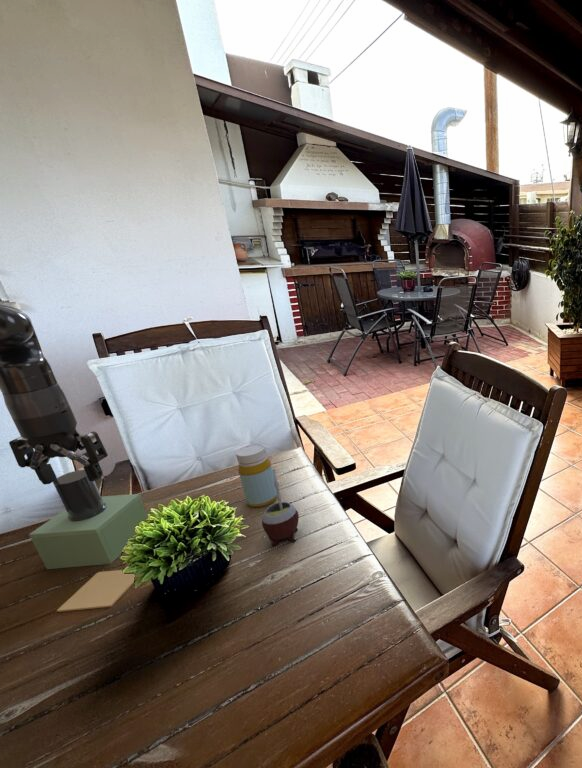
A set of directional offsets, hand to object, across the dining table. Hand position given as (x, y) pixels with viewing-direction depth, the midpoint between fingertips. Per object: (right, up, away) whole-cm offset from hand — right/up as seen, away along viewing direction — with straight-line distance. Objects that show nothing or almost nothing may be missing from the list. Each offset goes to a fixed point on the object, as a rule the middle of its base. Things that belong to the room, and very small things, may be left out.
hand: (73, 480), depth 82 cm
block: (0, -16, +6) cm, 17 cm away
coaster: (+11, -20, -5) cm, 24 cm away
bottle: (+26, -11, +22) cm, 35 cm away
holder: (0, -8, +3) cm, 8 cm away
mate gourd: (+39, -15, +9) cm, 43 cm away
